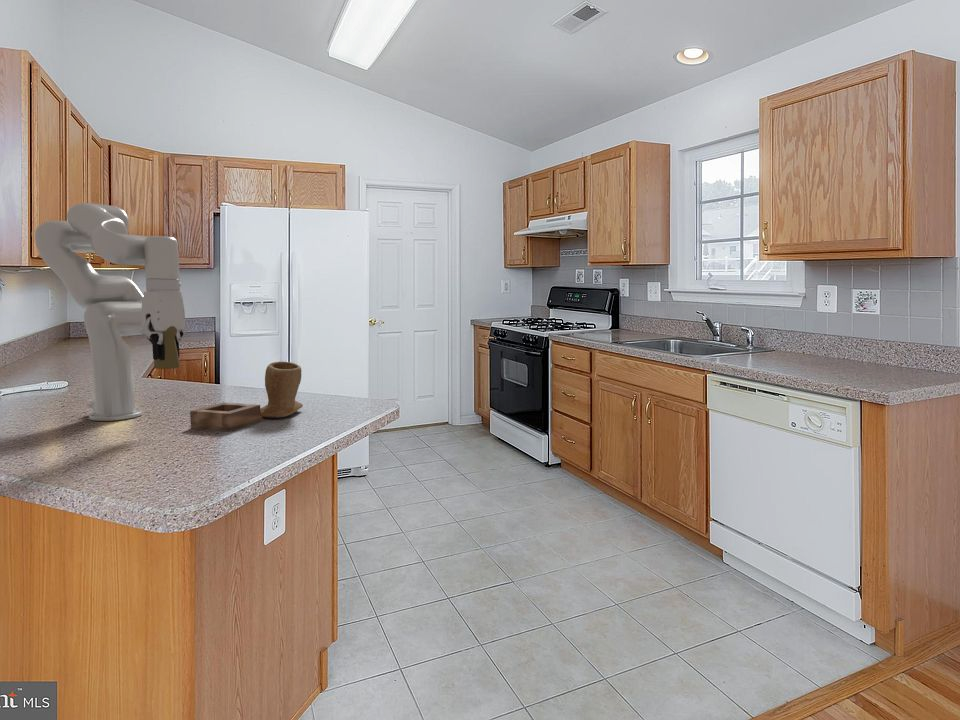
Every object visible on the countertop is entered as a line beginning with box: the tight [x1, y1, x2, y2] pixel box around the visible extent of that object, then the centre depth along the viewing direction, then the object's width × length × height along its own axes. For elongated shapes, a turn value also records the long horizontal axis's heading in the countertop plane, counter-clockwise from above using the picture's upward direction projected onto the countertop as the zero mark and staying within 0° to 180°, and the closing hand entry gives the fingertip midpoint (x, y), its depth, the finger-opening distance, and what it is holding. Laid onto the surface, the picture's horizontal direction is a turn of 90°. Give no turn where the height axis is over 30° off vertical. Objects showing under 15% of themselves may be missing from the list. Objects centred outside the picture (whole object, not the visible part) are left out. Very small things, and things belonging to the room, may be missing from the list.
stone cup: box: [260, 360, 303, 418], centre depth 172 cm, size 15×12×15 cm
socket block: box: [189, 401, 262, 433], centre depth 160 cm, size 12×12×4 cm
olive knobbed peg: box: [153, 326, 181, 370], centre depth 156 cm, size 6×6×11 cm
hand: (166, 358), depth 157 cm, fingers closed on olive knobbed peg, 4 cm apart
